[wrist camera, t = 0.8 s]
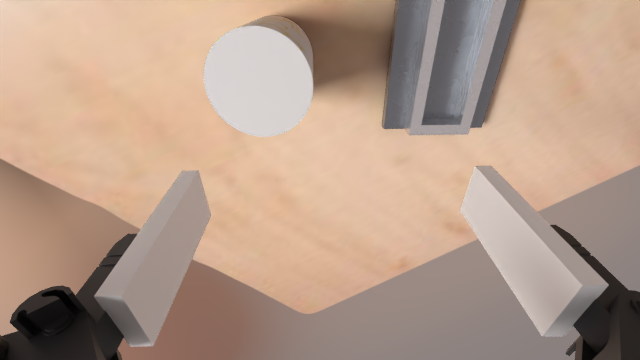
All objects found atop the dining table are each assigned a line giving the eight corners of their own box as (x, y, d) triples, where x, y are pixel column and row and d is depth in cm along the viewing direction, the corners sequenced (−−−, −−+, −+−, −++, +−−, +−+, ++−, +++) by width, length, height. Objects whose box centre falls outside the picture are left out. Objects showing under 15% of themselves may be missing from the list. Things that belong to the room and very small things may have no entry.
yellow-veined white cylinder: (315, 18, 30) (316, 30, 20) (311, 96, 34) (310, 139, 24) (235, 12, 30) (195, 21, 19) (241, 92, 34) (211, 134, 24)
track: (409, -121, 25) (421, -135, 22) (549, -121, 25) (578, -136, 22) (381, 125, 36) (387, 135, 34) (476, 123, 37) (489, 133, 34)
